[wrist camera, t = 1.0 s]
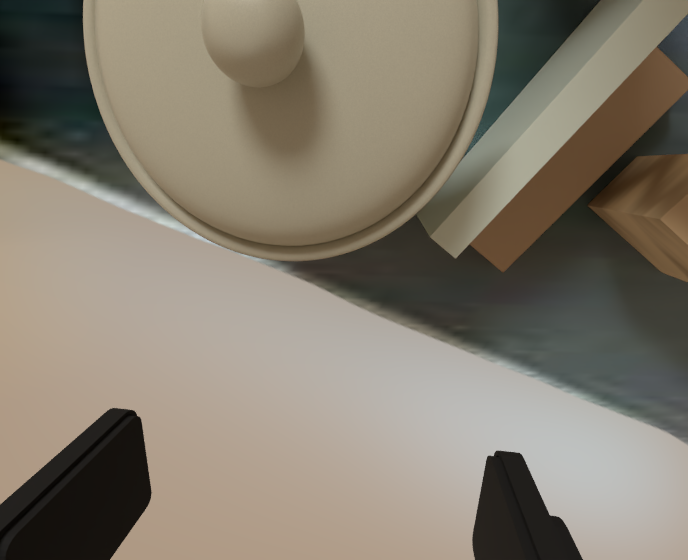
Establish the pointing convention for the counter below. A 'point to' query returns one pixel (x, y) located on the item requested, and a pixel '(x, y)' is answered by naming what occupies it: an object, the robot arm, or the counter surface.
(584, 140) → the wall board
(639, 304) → the counter surface
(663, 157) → the oak box
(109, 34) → the canister
